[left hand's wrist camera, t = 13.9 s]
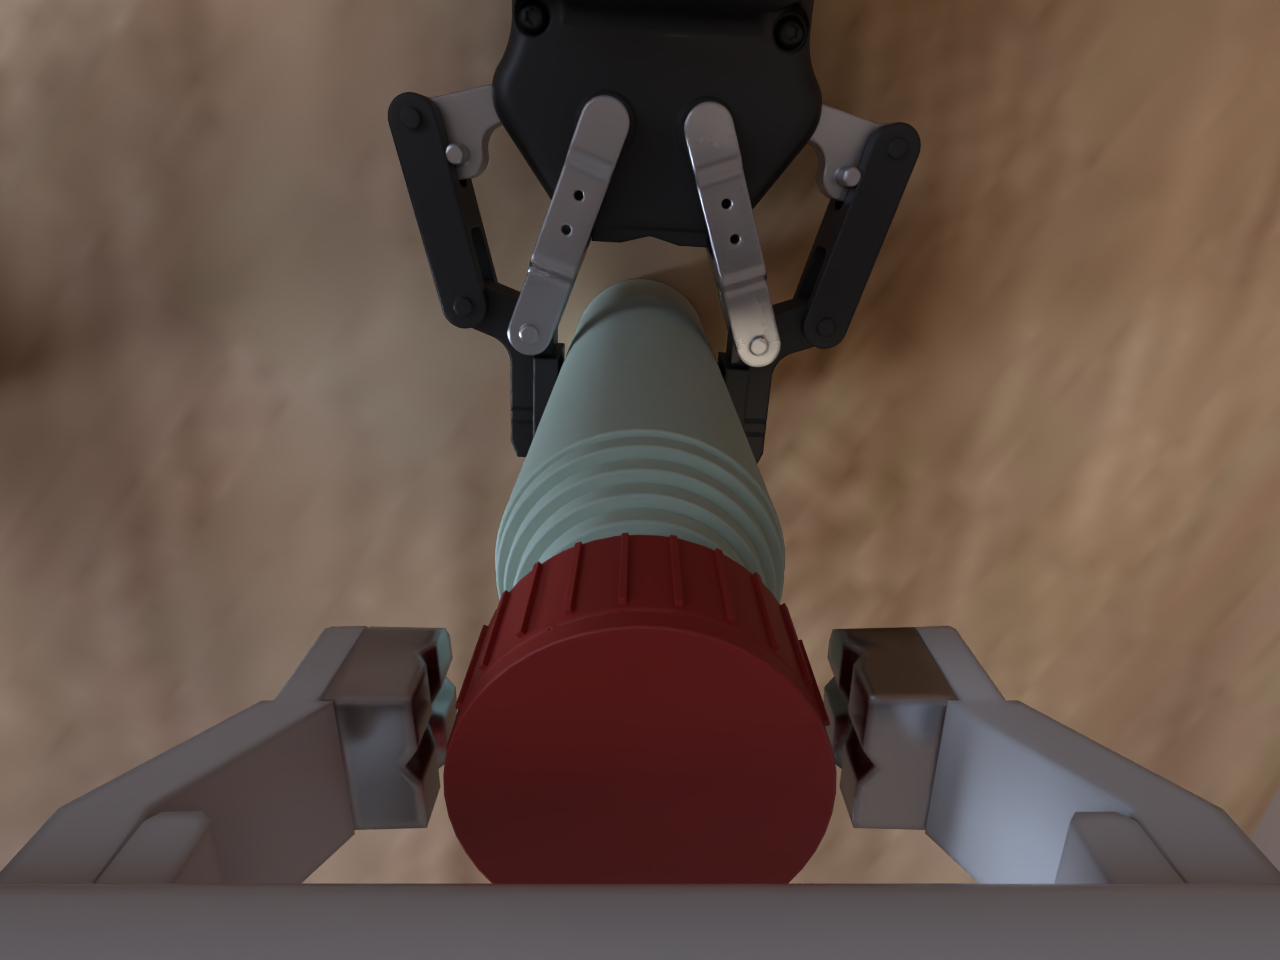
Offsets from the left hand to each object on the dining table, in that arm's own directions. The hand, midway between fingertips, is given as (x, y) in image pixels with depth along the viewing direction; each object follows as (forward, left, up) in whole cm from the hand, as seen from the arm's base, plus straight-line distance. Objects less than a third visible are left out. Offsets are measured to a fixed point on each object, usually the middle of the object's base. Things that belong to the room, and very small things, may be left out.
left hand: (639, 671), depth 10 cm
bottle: (0, 0, -21) cm, 21 cm away
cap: (0, 0, +2) cm, 2 cm away
